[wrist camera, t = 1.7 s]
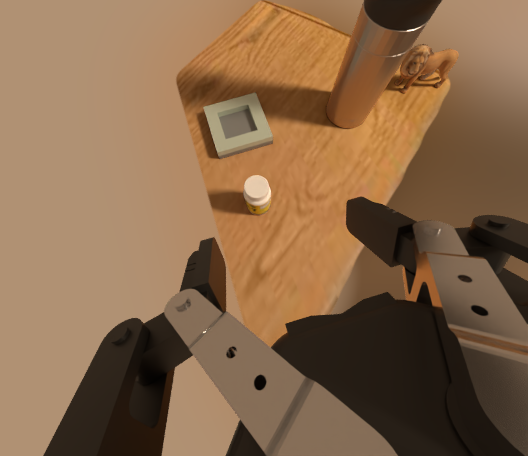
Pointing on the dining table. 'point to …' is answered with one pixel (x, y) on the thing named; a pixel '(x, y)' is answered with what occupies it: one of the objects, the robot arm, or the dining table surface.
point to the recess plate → (238, 125)
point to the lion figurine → (426, 64)
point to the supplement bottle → (257, 195)
